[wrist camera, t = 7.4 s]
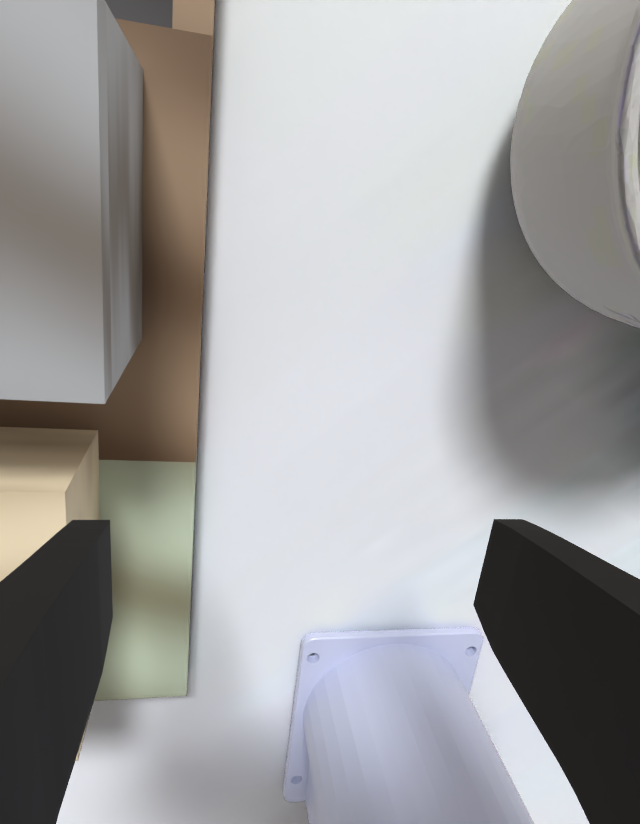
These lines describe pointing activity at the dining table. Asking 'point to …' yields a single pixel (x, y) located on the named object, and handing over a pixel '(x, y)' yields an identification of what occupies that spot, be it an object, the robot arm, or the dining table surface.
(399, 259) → the dining table surface
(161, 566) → the tunnel deck
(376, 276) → the dining table surface
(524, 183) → the teacup
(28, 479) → the maple bar
